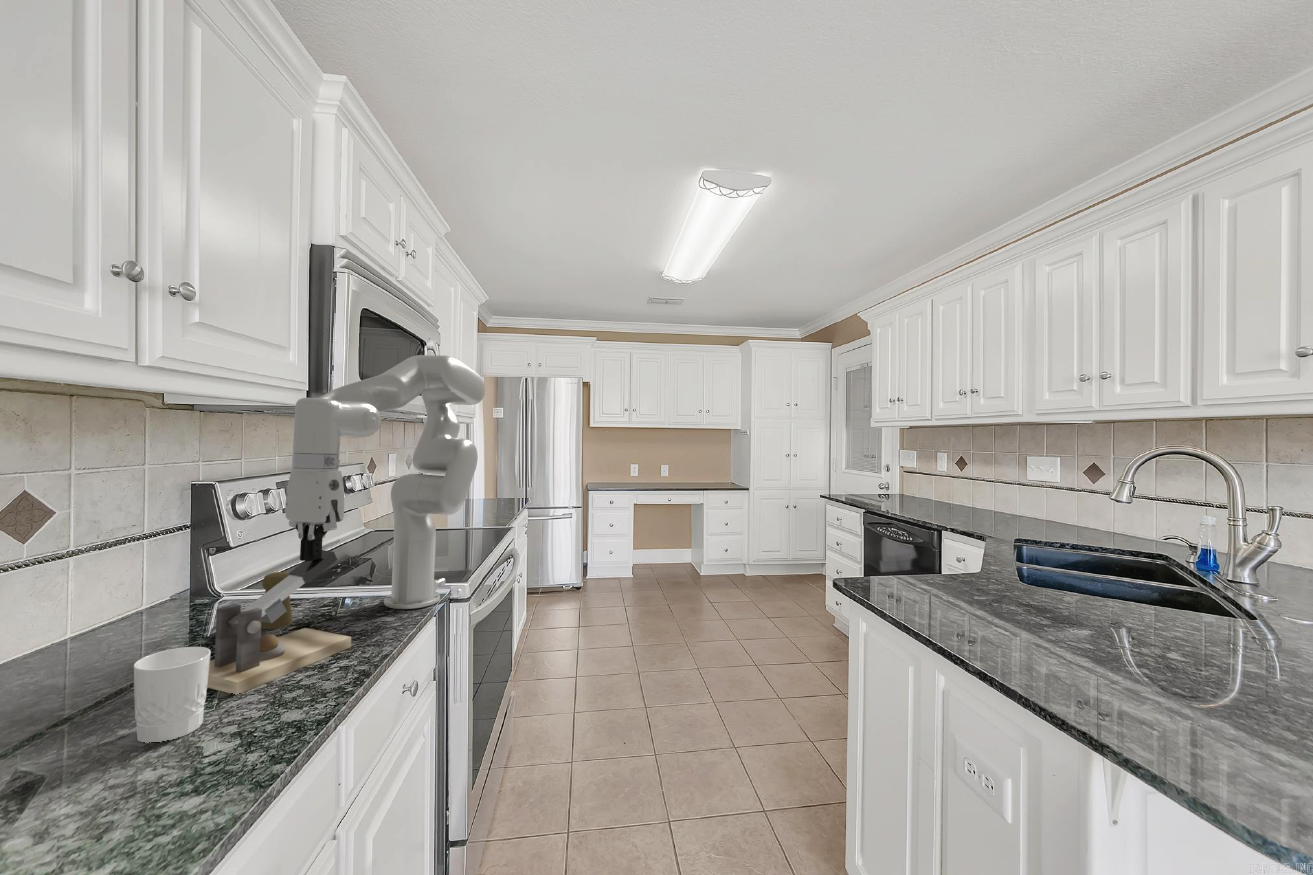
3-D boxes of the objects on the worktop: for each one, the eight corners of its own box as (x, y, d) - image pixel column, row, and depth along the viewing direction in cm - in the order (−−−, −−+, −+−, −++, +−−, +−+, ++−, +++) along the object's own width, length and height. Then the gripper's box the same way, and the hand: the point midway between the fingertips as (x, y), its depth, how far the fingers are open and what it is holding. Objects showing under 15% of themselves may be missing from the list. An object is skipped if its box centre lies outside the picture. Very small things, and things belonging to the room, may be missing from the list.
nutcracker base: (304, 637, 107) (307, 580, 107) (350, 647, 104) (353, 587, 104) (184, 681, 87) (187, 611, 87) (236, 694, 84) (239, 621, 84)
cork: (274, 630, 110) (277, 577, 110) (250, 627, 112) (252, 575, 112) (299, 621, 116) (301, 570, 116) (276, 618, 118) (278, 568, 118)
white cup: (128, 729, 73) (131, 656, 73) (203, 709, 79) (206, 642, 79) (132, 753, 68) (135, 675, 68) (212, 730, 74) (215, 658, 74)
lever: (327, 565, 107) (319, 549, 105) (341, 567, 106) (333, 551, 104) (236, 637, 91) (225, 620, 89) (251, 641, 90) (241, 623, 88)
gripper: (362, 464, 103) (357, 560, 103) (304, 461, 108) (299, 552, 107) (328, 465, 96) (322, 568, 96) (267, 461, 101) (262, 559, 100)
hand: (310, 559), depth 101 cm, fingers closed
